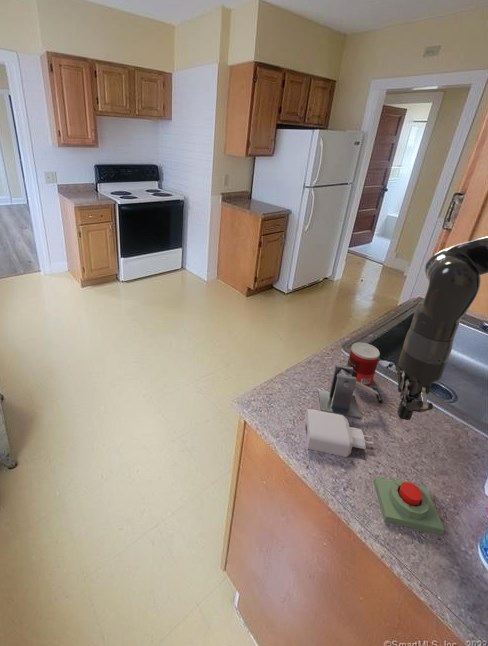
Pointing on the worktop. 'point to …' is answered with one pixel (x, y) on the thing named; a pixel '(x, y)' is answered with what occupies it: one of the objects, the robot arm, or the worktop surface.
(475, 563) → the worktop surface
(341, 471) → the worktop surface
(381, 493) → the button box
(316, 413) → the charger
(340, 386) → the tap bracket
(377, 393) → the tap lever
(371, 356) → the canned food
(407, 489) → the button
